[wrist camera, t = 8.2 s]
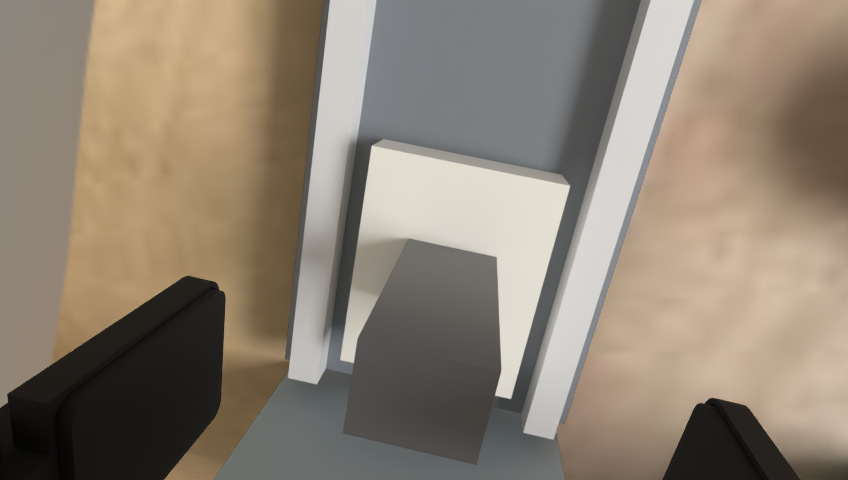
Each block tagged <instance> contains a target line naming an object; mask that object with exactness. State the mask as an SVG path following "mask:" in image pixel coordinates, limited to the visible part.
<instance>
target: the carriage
mask: <svg viewBox="0 0 848 480" xmlns="http://www.w3.org/2000/svg"><path fill="white" fill-rule="evenodd" d="M569 189H570V185H569V184H568V182H567V181H566V180H565V178H564V177H563V176H562V175H561V174H556V173H551V172H546V171H541V170H536V169H531V168H526V167H521V166H516V165H511V164H506V163H501V162H496V161H491V160H486V159H481V158H476V157H472V156H467V155H462V154H457V153H452V152H447V151H442V150H437V149H432V148H427V147H422V146H417V145H412V144H407V143H402V142H397V141H392V140H387V139H383V140H381V141H379V142H378V143H376V144H374V145H372V147H371V154H370V161H369V168H368V174H367V181H366V188H365V195H364V202H363V208H362V215H361V222H360V229H359V235H358V242H357V249H356V256H355V263H354V269H353V276H352V283H351V290H350V297H349V303H348V310H347V317H346V324H345V330H344V337H343V344H342V351H341V358H340V360H342V361H347V362H351V363H354V364H353V371H352V377H351V383H350V390H349V396H348V402H347V409H346V415H345V421H344V428H343V434H348V435H352V436H356V437H360V438H364V439H369V440H373V441H377V442H381V443H385V444H390V445H394V446H398V447H402V448H406V449H411V450H415V451H419V452H423V453H427V454H432V455H436V456H440V457H444V458H448V459H453V460H457V461H461V462H465V463H469V464H474V465H477V461H478V457H479V453H480V450H481V446H482V442H483V438H484V435H485V431H486V427H487V423H488V420H489V416H490V412H491V408H492V404H493V401H494V397H495V396H499V397H504V398H508V399H511V397H512V393H513V390H514V386H515V383H516V379H517V376H518V372H519V368H520V365H521V361H522V358H523V354H524V350H525V347H526V343H527V340H528V336H529V332H530V329H531V325H532V322H533V318H534V314H535V311H536V307H537V304H538V300H539V297H540V293H541V289H542V286H543V282H544V279H545V275H546V271H547V268H548V264H549V261H550V257H551V253H552V250H553V246H554V243H555V239H556V236H557V232H558V228H559V225H560V221H561V218H562V214H563V210H564V207H565V203H566V200H567V196H568V192H569Z"/></svg>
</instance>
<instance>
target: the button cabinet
mask: <svg viewBox="0 0 848 480" xmlns="http://www.w3.org/2000/svg"><path fill="white" fill-rule="evenodd" d="M288 373H289V371H288V372H287V374H286V375H285V377H284V378H283V380H282V381H281V382H280V384H279V385H278V387H277V388H276V390H275V391H274V393H273V394H272V395H271V397H270V398H269V400H268V401H267V403H266V404H265V406H264V407H263V408H262V410H261V411H260V413H259V414H258V416H257V417H256V419H255V420H254V421H253V423H252V424H251V426H250V427H249V429H248V430H247V432H246V433H245V435H244V436H243V437H242V439H241V440H240V442H239V443H238V445H237V446H236V448H235V449H234V450H233V452H232V453H231V455H230V456H229V458H228V459H227V461H226V462H225V463H224V465H223V466H222V468H221V469H220V471H219V472H218V474H217V475H216V476H215V478H214V479H213V480H565V477H564V472H563V466H562V461H561V456H560V450H559V445H558V440H557V434H556V433H555V437H554V440H553V439H548V438H544V437H540V436H536V435H531V434H527V433H523V426H522V415H521V413H516V412H512V411H508V410H503V409H499V408H495V407H492V408H491V412H490V416H489V420H488V423H487V427H486V431H485V435H484V438H483V442H482V446H481V450H480V453H479V457H478V461H477V465H474V464H469V463H465V462H461V461H457V460H453V459H448V458H444V457H440V456H436V455H432V454H427V453H423V452H419V451H415V450H411V449H406V448H402V447H398V446H394V445H390V444H385V443H381V442H377V441H373V440H369V439H364V438H360V437H356V436H352V435H348V434H343V428H344V421H345V415H346V409H347V402H348V396H349V390H350V383H351V377H352V374H347V373H343V372H339V371H334V370H330V369H325V371H324V372H323V374H322V376H321V378H320V380H319V381H318V383H317V384H312V383H308V382H304V381H299V380H295V379H291V378H288Z"/></svg>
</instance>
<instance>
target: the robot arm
mask: <svg viewBox="0 0 848 480" xmlns="http://www.w3.org/2000/svg"><path fill="white" fill-rule="evenodd" d="M224 320H225V293H224V292H223V291H220V290H219V287H218V284H217V283H216V282H213V281H208V280H204V279H200V278H196V277H191V276H186V277H183V278H182V279H180V280H179V281H177V282H176V283H174V284H173V285H171V286H170V287H168V288H167V289H165V290H164V291H162V292H161V293H159V294H158V295H156V296H155V297H153V298H152V299H150V300H149V301H147V302H146V303H144V304H143V305H141V306H140V307H138V308H137V309H135V310H134V311H132V312H131V313H129V314H128V315H126V316H125V317H123V318H122V319H120V320H118V321H117V322H115V323H114V324H112V325H111V326H109V327H108V328H106V329H105V330H103V331H102V332H100V333H99V334H97V335H96V336H94V337H93V338H91V339H90V340H88V341H87V342H85V343H84V344H82V345H81V346H79V347H78V348H76V349H75V350H73V351H72V352H70V353H69V354H67V355H66V356H64V357H63V358H61V359H60V360H58V361H57V362H55V363H54V364H52V365H51V366H49V367H48V368H46V369H45V370H43V371H42V372H40V373H39V374H37V375H36V376H34V377H33V378H31V379H30V380H28V381H26V382H25V383H23V384H22V385H21V386H19V387H17V388H16V389H14V390H13V391H12V392H10V393H9V394H7V395H8V403H7V404H5V405H4V406H3V407H1V408H0V480H164V479H165V478H166V476H167V475H168V474H169V473H170V472H171V470H172V469H173V468H174V467H175V465H176V464H177V463H178V462H179V461H180V459H181V458H182V457H183V456H184V454H185V453H186V452H187V451H188V450H189V448H190V447H191V446H192V445H193V443H194V442H195V441H196V440H197V439H198V437H199V436H200V435H201V434H202V432H203V431H204V430H205V429H206V428H207V426H208V425H209V424H210V423H211V422H212V420H213V419H214V417H215V416H216V414H217V412H218V409H219V406H220V401H221V384H222V363H223V341H224ZM663 480H800V479H799V478H798V476H797V475H796V473H795V472H794V471H793V469H792V468H791V466H790V465H789V464H788V462H787V461H786V459H785V458H784V457H783V455H782V454H781V453H780V451H779V450H778V448H777V447H776V446H775V444H774V443H773V441H772V440H771V439H770V437H769V436H768V434H767V433H766V432H765V430H764V429H763V427H762V426H761V425H760V423H759V422H758V421H757V419H756V418H755V416H754V415H753V414H752V412H751V411H750V409H749V408H747V407H746V406H745V405H741V404H737V403H733V402H728V401H724V400H720V399H716V398H710V399H708V400H707V401H706V402H705V404H703V403H699V404H697V405H696V406H695V408H694V410H693V412H692V414H691V416H690V419H689V421H688V423H687V425H686V428H685V430H684V432H683V435H682V437H681V439H680V441H679V444H678V446H677V448H676V451H675V453H674V455H673V457H672V460H671V462H670V464H669V466H668V469H667V471H666V473H665V476H664V478H663Z"/></svg>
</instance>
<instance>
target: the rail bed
mask: <svg viewBox="0 0 848 480" xmlns="http://www.w3.org/2000/svg"><path fill="white" fill-rule="evenodd" d="M701 1H702V0H324V2H323V11H322V20H321V29H320V39H319V48H318V57H317V67H316V76H315V85H314V94H313V104H312V113H311V122H310V132H309V141H308V150H307V160H306V169H305V178H304V187H303V197H302V206H301V215H300V225H299V234H298V243H297V252H296V262H295V271H294V280H293V290H292V299H291V308H290V318H289V327H288V336H287V345H286V355H285V359H287V360H290V364H289V373H288V378H291V379H295V380H299V381H304V382H308V383H312V384H317V383H318V381H319V380H320V378H321V376H322V374H323V372H324V371H325V369H330V370H334V371H339V372H343V373H347V374H352V371H353V364H354V363H351V362H347V361H342V360H340V358H341V351H342V344H343V337H344V330H345V324H346V317H347V310H348V303H349V297H350V290H351V283H352V276H353V269H354V263H355V256H356V249H357V242H358V235H359V229H360V222H361V215H362V208H363V202H364V195H365V188H366V181H367V174H368V168H369V161H370V154H371V147H372V145H374V144H376V143H378V142H379V141H381V140H383V139H387V140H392V141H397V142H402V143H407V144H412V145H417V146H422V147H427V148H432V149H437V150H442V151H447V152H452V153H457V154H462V155H467V156H472V157H476V158H481V159H486V160H491V161H496V162H501V163H506V164H511V165H516V166H521V167H526V168H531V169H536V170H541V171H546V172H551V173H556V174H561V175H562V176H563V177H564V178H565V180H566V181H567V182H568V184H569V185H570V189H569V192H568V196H567V200H566V203H565V207H564V210H563V214H562V218H561V221H560V225H559V228H558V232H557V236H556V239H555V243H554V246H553V250H552V253H551V257H550V261H549V264H548V268H547V271H546V275H545V279H544V282H543V286H542V289H541V293H540V297H539V300H538V304H537V307H536V311H535V314H534V318H533V322H532V325H531V329H530V332H529V336H528V340H527V343H526V347H525V350H524V354H523V358H522V361H521V365H520V368H519V372H518V376H517V379H516V383H515V386H514V390H513V393H512V397H511V399H508V398H504V397H499V396H495V397H494V401H493V404H492V407H495V408H499V409H503V410H508V411H512V412H516V413H521V415H522V426H523V433H527V434H531V435H536V436H540V437H544V438H548V439H553V440H554V437H555V433H556V430H557V427H558V424H559V422H560V423H564V424H565V420H566V417H567V414H568V411H569V408H570V405H571V402H572V399H573V396H574V393H575V390H576V387H577V383H578V380H579V377H580V374H581V371H582V368H583V365H584V362H585V359H586V356H587V353H588V350H589V346H590V343H591V340H592V337H593V334H594V331H595V328H596V325H597V322H598V319H599V316H600V312H601V309H602V306H603V303H604V300H605V297H606V294H607V291H608V288H609V285H610V282H611V279H612V275H613V272H614V269H615V266H616V263H617V260H618V257H619V254H620V251H621V248H622V245H623V242H624V238H625V235H626V232H627V229H628V226H629V223H630V220H631V217H632V214H633V211H634V208H635V205H636V201H637V198H638V195H639V192H640V189H641V186H642V183H643V180H644V177H645V174H646V171H647V168H648V164H649V161H650V158H651V155H652V152H653V149H654V146H655V143H656V140H657V137H658V134H659V131H660V127H661V124H662V121H663V118H664V115H665V112H666V109H667V106H668V103H669V100H670V97H671V93H672V90H673V87H674V84H675V81H676V78H677V75H678V72H679V69H680V66H681V63H682V60H683V56H684V53H685V50H686V47H687V44H688V41H689V38H690V35H691V32H692V29H693V26H694V23H695V19H696V16H697V13H698V10H699V7H700V4H701Z"/></svg>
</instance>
